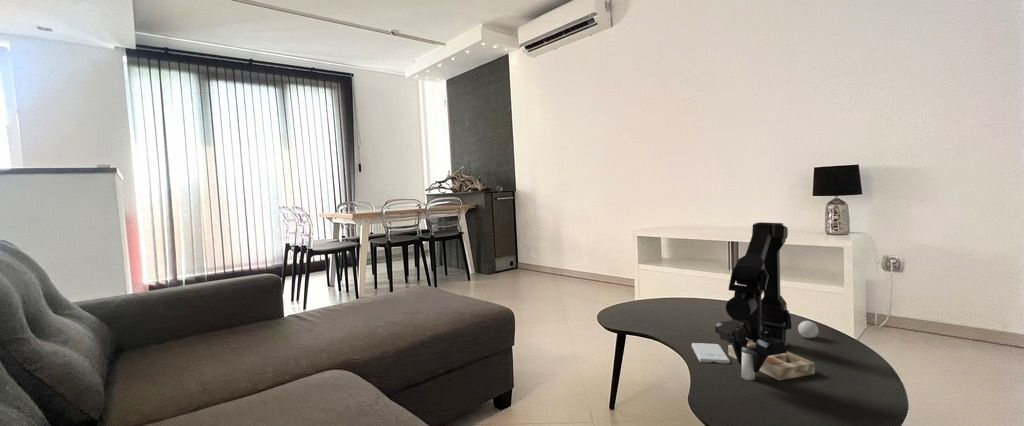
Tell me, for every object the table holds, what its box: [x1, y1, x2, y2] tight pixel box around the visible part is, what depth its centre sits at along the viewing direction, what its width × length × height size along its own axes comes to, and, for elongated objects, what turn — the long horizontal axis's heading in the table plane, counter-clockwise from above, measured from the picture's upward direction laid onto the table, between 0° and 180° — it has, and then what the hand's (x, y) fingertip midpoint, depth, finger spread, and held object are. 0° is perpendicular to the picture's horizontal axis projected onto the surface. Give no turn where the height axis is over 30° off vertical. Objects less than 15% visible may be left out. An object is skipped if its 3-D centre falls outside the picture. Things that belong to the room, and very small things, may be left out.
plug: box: [740, 346, 756, 381], centre depth 117 cm, size 3×3×8 cm
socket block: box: [727, 341, 816, 381], centre depth 126 cm, size 12×18×3 cm, turn 15°
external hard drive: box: [691, 342, 731, 364], centre depth 134 cm, size 2×8×12 cm
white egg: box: [797, 320, 820, 339], centre depth 146 cm, size 8×6×6 cm
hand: (748, 368), depth 118 cm, fingers open, 5 cm apart
